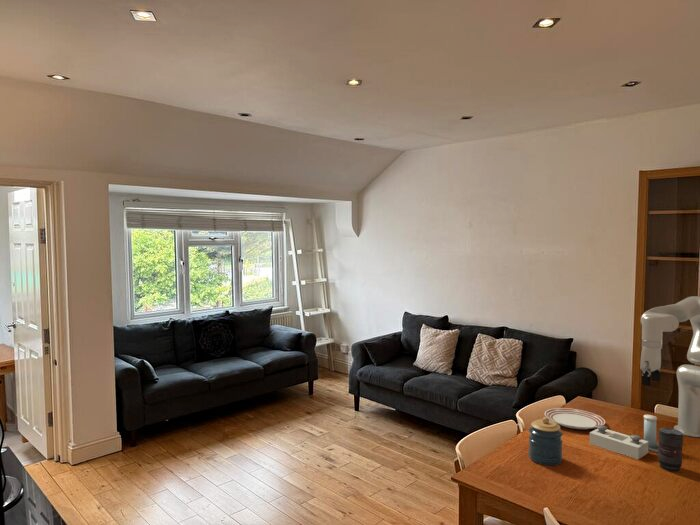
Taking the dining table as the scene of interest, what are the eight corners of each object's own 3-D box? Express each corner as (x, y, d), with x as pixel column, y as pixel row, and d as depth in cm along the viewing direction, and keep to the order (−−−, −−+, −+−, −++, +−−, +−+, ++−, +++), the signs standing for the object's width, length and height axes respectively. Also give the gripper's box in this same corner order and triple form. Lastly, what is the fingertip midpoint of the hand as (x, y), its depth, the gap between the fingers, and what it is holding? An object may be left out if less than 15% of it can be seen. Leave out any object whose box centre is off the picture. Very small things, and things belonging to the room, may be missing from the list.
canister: (562, 455, 204) (563, 414, 203) (562, 468, 192) (562, 425, 191) (530, 450, 209) (530, 410, 209) (527, 462, 198) (527, 420, 197)
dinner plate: (559, 409, 260) (559, 403, 259) (614, 423, 239) (614, 416, 239) (534, 422, 241) (534, 415, 241) (591, 438, 221) (591, 431, 221)
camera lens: (686, 473, 187) (687, 435, 186) (663, 472, 189) (663, 434, 188) (676, 464, 195) (677, 427, 194) (654, 462, 197) (655, 426, 196)
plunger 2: (632, 447, 207) (632, 433, 207) (642, 450, 204) (642, 436, 204) (628, 450, 205) (628, 436, 205) (638, 453, 202) (638, 439, 202)
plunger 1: (599, 437, 219) (599, 424, 218) (608, 440, 215) (608, 426, 215) (595, 439, 216) (595, 426, 216) (604, 442, 213) (604, 429, 213)
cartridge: (646, 442, 215) (646, 413, 214) (658, 445, 211) (659, 416, 210) (641, 445, 212) (641, 416, 211) (653, 448, 208) (654, 419, 207)
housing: (589, 443, 215) (589, 432, 215) (600, 437, 221) (600, 427, 221) (637, 459, 199) (638, 447, 199) (648, 452, 205) (648, 441, 205)
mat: (643, 440, 217) (643, 439, 217) (665, 447, 210) (665, 446, 210) (634, 446, 212) (634, 444, 212) (657, 453, 205) (657, 451, 205)
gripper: (650, 339, 217) (649, 377, 218) (633, 345, 207) (633, 384, 208) (669, 342, 211) (668, 381, 212) (653, 348, 201) (652, 389, 202)
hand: (651, 383), depth 210 cm, fingers open, 9 cm apart
